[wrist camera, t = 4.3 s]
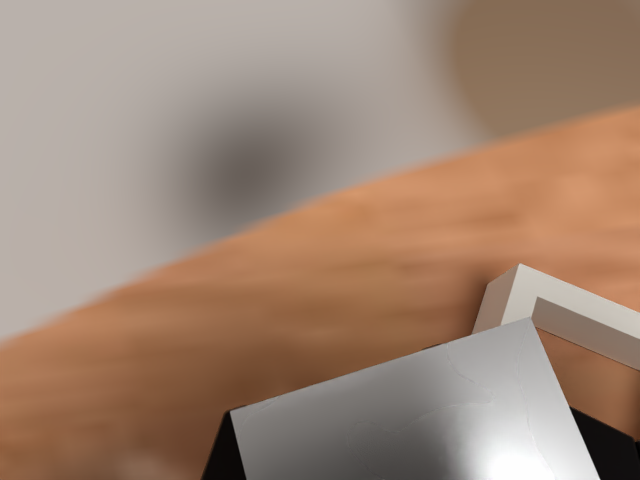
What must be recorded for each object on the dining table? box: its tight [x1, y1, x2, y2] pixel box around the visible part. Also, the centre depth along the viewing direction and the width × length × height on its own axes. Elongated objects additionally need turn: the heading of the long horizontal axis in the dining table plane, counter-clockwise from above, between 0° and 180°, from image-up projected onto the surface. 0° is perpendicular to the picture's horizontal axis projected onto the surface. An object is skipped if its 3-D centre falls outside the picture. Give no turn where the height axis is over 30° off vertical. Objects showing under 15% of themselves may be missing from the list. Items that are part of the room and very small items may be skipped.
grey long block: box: [230, 317, 600, 480], centre depth 10 cm, size 3×3×12 cm
